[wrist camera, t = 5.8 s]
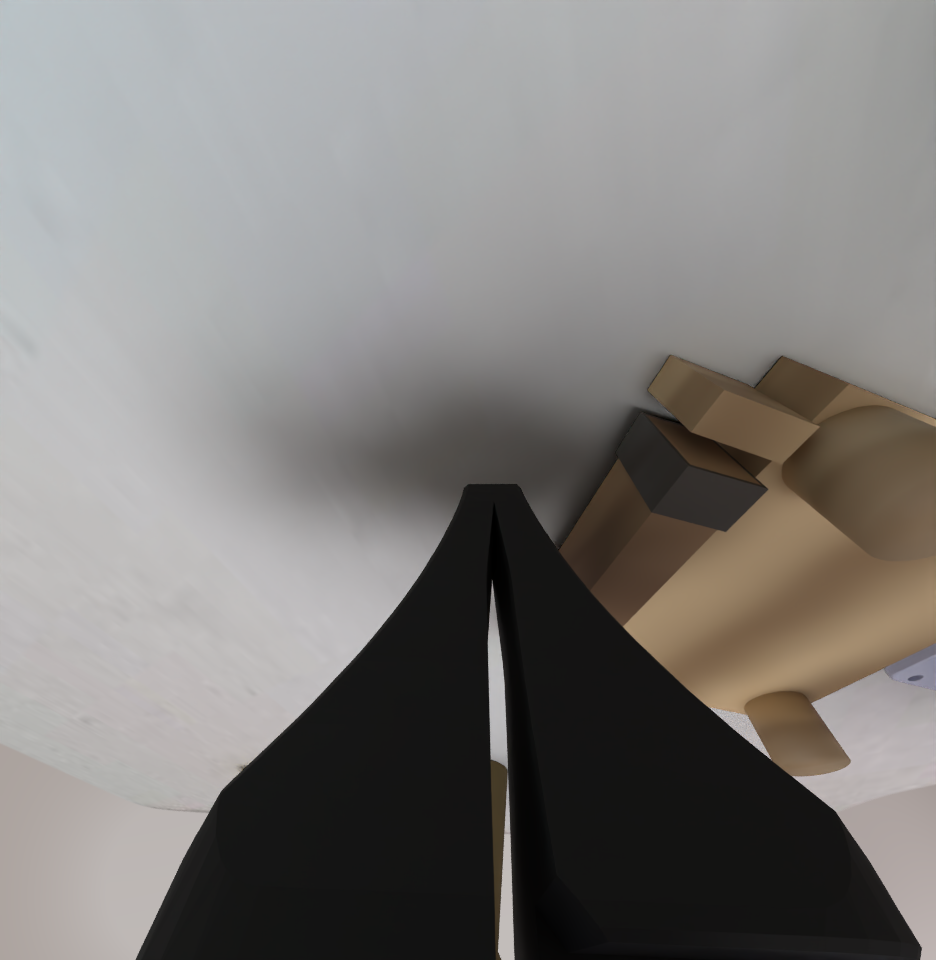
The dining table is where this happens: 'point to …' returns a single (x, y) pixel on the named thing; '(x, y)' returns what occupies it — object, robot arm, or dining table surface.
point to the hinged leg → (655, 512)
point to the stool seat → (800, 553)
